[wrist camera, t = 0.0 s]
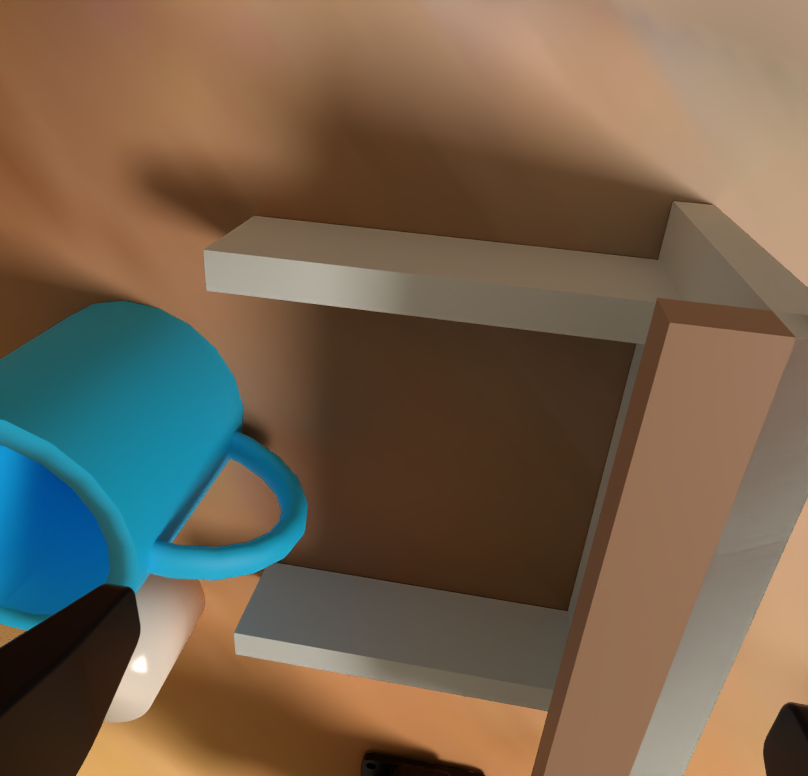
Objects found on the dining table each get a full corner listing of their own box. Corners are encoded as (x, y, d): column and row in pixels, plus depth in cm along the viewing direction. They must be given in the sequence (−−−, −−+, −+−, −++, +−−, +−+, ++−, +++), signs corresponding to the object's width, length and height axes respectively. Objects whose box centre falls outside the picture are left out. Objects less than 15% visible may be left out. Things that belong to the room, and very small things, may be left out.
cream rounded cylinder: (209, 639, 32) (160, 733, 28) (101, 619, 33) (37, 708, 29) (200, 551, 30) (144, 640, 25) (83, 532, 30) (9, 616, 26)
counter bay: (582, 664, 29) (609, 941, 20) (270, 610, 31) (166, 845, 22) (714, 205, 20) (875, 346, 11) (251, 159, 21) (53, 249, 12)
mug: (42, 442, 28) (-121, 580, 21) (51, 268, 24) (-145, 366, 17) (309, 539, 28) (237, 708, 21) (361, 381, 24) (295, 525, 17)
